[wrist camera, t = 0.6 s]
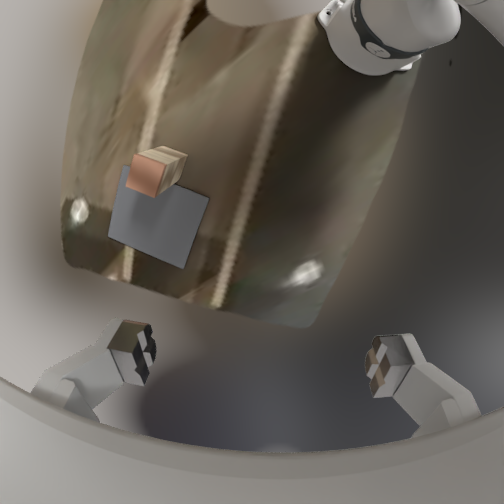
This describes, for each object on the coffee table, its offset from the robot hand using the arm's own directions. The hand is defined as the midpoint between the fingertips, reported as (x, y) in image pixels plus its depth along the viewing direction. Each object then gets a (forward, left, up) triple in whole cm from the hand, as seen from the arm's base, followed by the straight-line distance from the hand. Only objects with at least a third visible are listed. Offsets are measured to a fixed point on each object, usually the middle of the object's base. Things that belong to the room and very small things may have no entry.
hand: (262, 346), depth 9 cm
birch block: (+6, -16, -42) cm, 45 cm away
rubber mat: (+18, -16, -42) cm, 48 cm away
